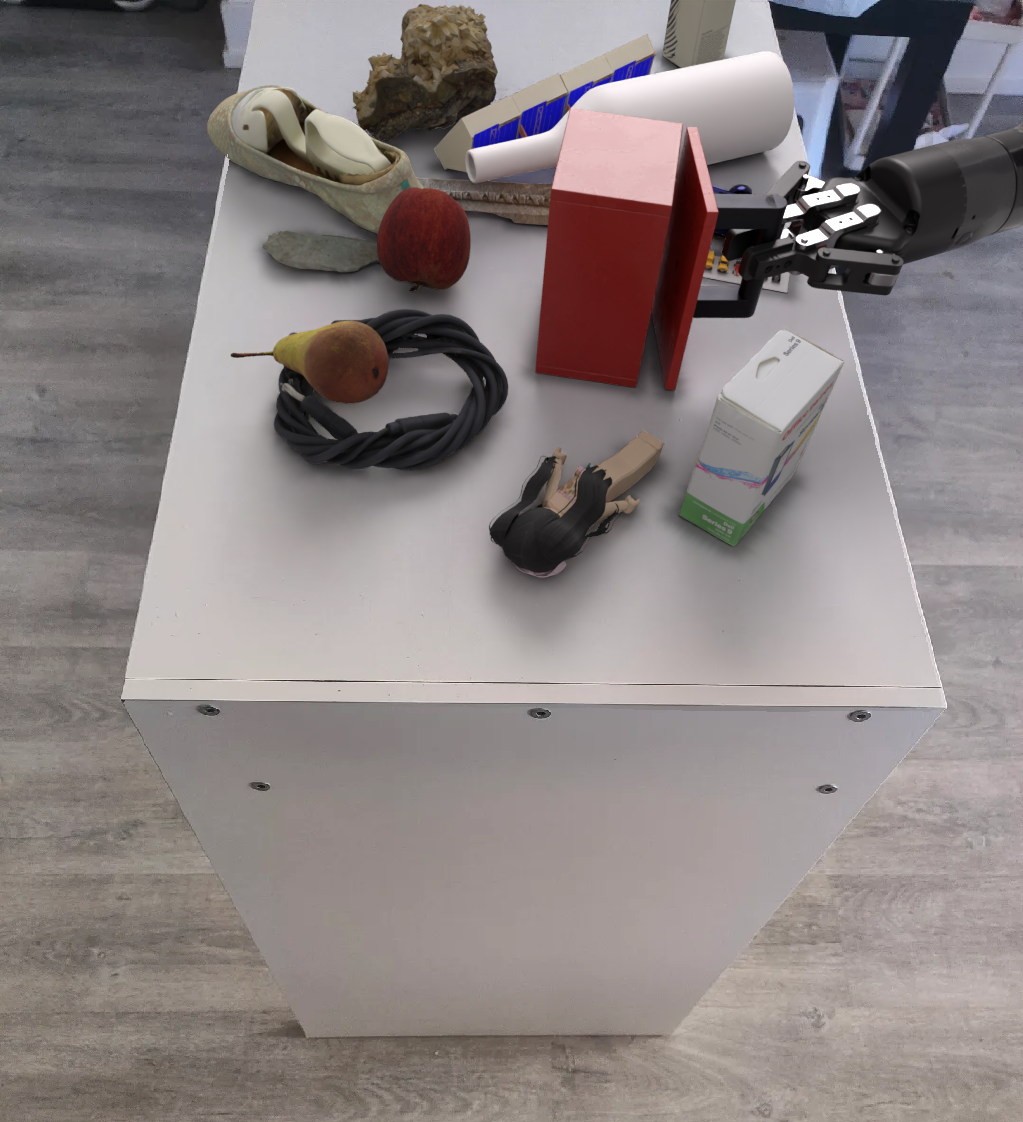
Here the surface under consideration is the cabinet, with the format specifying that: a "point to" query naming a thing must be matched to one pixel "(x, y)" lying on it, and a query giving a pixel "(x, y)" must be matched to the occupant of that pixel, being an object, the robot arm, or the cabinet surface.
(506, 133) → the building
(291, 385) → the cable
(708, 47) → the box
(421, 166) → the cabinet surface
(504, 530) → the toy figure
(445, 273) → the apple
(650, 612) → the cabinet surface
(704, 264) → the door
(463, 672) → the cabinet surface
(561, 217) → the cabinet
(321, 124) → the ballet flat
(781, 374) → the ink box
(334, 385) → the fruit
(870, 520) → the cabinet surface
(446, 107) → the mineral specimen
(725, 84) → the bottle
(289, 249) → the stone
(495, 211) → the fossil
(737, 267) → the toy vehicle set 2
